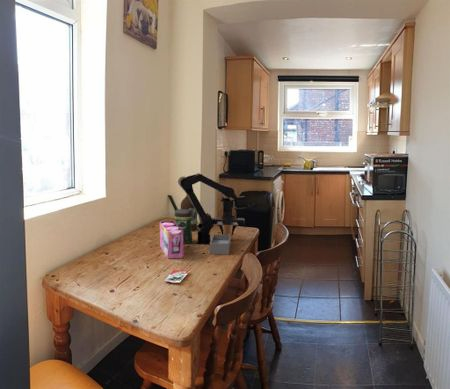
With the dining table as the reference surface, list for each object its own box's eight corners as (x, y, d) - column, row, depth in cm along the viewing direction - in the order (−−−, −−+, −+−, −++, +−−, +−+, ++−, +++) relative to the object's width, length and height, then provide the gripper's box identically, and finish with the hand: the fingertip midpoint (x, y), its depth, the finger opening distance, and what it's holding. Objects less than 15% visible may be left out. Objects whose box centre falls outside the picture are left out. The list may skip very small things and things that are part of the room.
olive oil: (177, 229, 263) (176, 189, 259) (190, 226, 270) (190, 188, 266) (187, 232, 255) (187, 191, 251) (201, 229, 262) (201, 189, 258)
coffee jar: (193, 240, 237) (193, 208, 234) (190, 244, 229) (190, 211, 226) (176, 240, 238) (176, 207, 235) (173, 243, 231) (172, 210, 228)
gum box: (184, 258, 206) (184, 231, 204) (168, 259, 203) (168, 232, 201) (174, 245, 228) (174, 220, 226) (159, 246, 226) (159, 221, 224)
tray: (209, 253, 213) (209, 243, 212) (212, 244, 231) (212, 234, 230) (228, 254, 213) (228, 243, 212) (230, 244, 230) (230, 234, 229)
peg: (224, 241, 237) (224, 225, 235) (224, 239, 240) (224, 224, 239) (230, 241, 237) (230, 225, 235) (230, 239, 240) (230, 224, 239)
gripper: (209, 211, 228) (209, 239, 231) (244, 212, 227) (243, 240, 229) (211, 207, 239) (211, 234, 242) (244, 208, 238) (244, 235, 240)
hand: (227, 236), depth 238 cm, fingers open, 5 cm apart
